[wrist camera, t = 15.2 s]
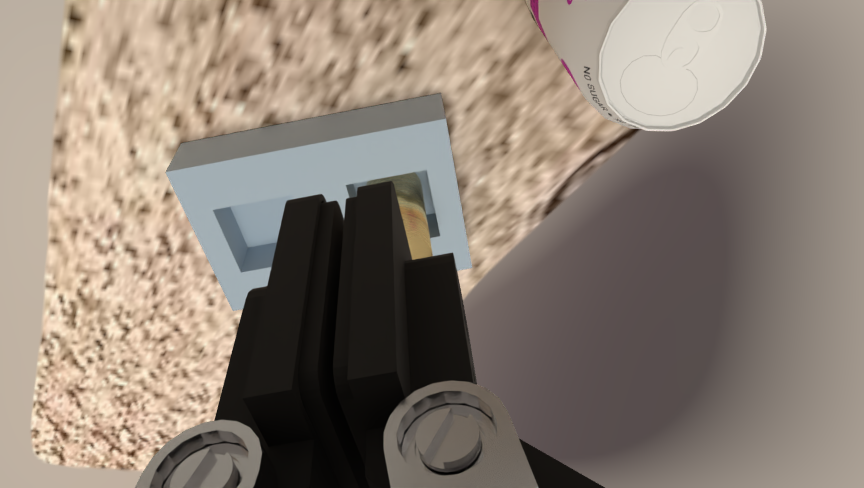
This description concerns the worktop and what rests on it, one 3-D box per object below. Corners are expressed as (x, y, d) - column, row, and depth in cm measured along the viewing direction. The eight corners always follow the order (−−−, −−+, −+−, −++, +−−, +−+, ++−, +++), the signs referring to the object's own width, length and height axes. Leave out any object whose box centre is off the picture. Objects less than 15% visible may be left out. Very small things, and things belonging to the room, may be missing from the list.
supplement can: (608, 55, 42) (700, 166, 30) (496, 7, 40) (548, 106, 28) (681, -70, 38) (824, 0, 26) (561, -132, 36) (656, -87, 23)
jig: (181, 143, 44) (165, 172, 40) (440, 93, 43) (445, 118, 40) (242, 277, 51) (232, 310, 47) (466, 236, 50) (472, 268, 47)
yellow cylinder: (356, 178, 45) (356, 248, 38) (408, 156, 44) (417, 224, 38) (380, 219, 47) (384, 292, 41) (430, 200, 46) (442, 270, 40)
